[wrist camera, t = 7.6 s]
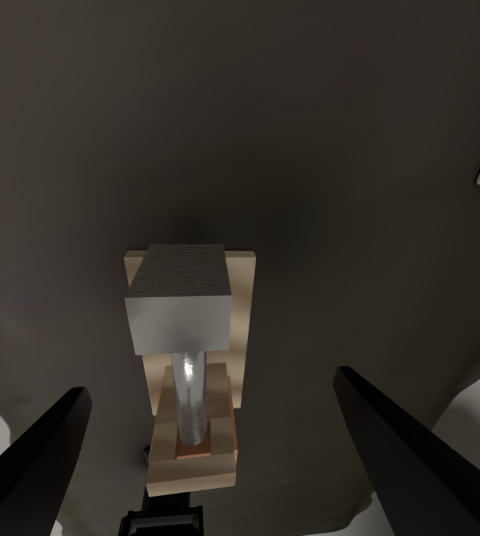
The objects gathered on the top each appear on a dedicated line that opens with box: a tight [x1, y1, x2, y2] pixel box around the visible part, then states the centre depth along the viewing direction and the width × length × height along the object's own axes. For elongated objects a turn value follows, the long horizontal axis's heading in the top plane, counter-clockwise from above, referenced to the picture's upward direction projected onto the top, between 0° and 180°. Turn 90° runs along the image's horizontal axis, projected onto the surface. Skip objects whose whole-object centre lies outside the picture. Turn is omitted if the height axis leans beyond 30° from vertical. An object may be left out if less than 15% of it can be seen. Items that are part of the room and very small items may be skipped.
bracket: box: [124, 251, 256, 497], centre depth 20 cm, size 20×10×10 cm, turn 176°
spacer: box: [149, 376, 238, 464], centre depth 23 cm, size 2×7×7 cm, turn 86°
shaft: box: [124, 244, 232, 446], centre depth 15 cm, size 14×4×5 cm, turn 176°
